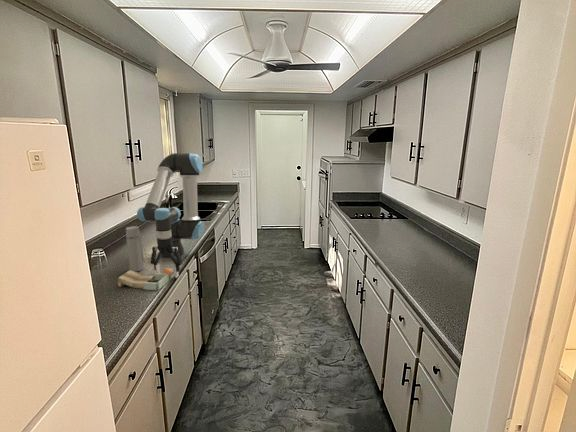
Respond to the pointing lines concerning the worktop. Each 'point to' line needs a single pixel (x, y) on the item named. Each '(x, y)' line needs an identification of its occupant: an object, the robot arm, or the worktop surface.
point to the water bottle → (134, 248)
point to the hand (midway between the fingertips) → (167, 276)
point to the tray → (156, 286)
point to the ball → (167, 271)
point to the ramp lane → (134, 279)
